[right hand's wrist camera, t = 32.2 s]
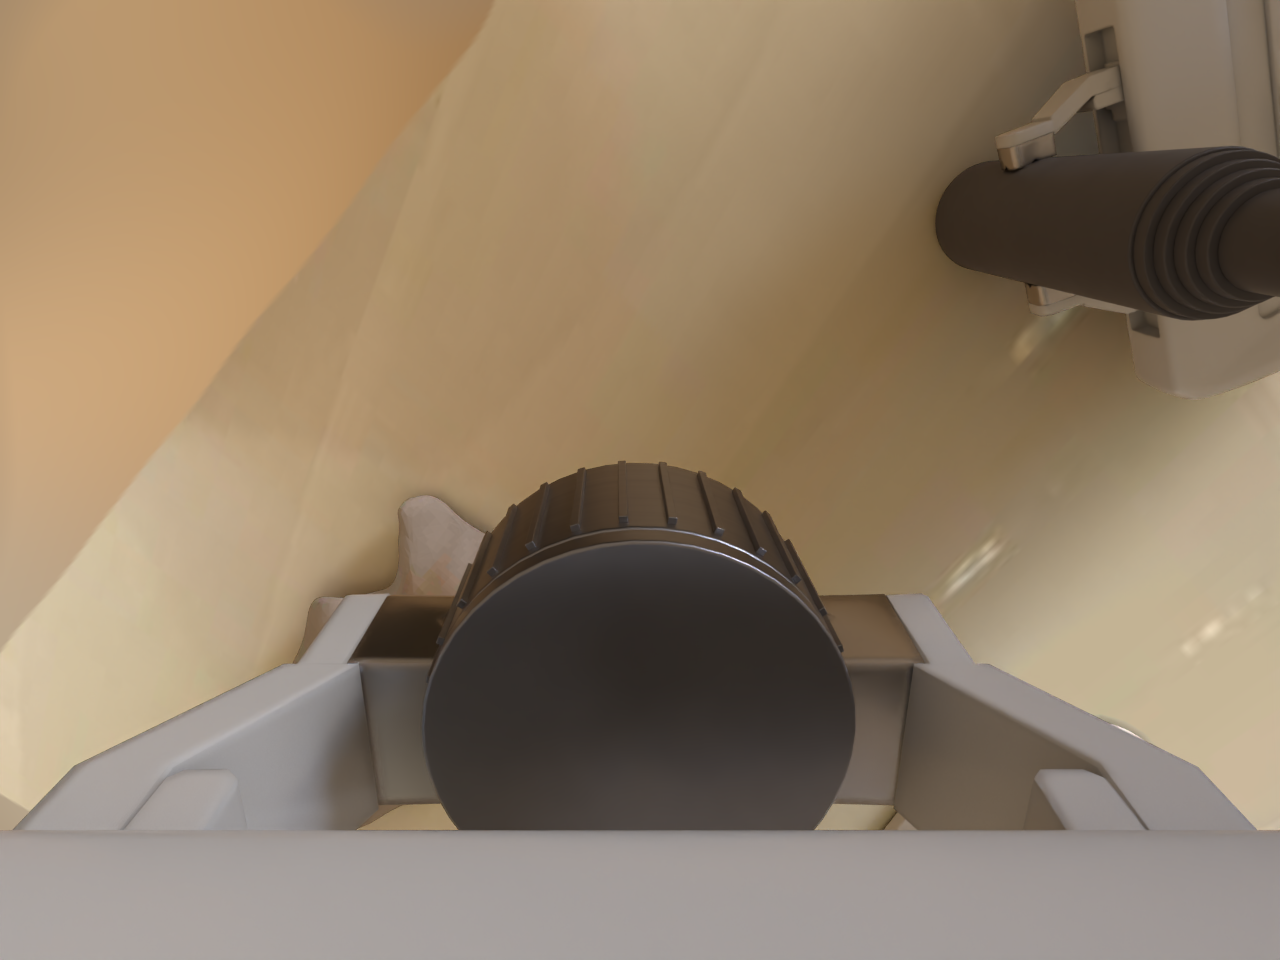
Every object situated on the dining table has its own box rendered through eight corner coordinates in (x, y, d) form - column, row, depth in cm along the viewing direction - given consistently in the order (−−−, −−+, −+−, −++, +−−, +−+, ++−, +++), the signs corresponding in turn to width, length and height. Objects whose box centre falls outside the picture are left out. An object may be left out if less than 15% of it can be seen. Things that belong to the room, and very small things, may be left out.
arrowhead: (605, 658, 45) (303, 970, 52) (609, 615, 50) (332, 906, 57) (395, 499, 42) (106, 852, 49) (421, 470, 47) (154, 796, 54)
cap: (696, 386, 9) (721, 444, 7) (868, 668, 10) (936, 795, 8) (387, 575, 9) (320, 684, 7) (584, 819, 11) (577, 974, 9)
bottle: (1059, 216, 42) (1503, 248, 21) (976, 291, 43) (1316, 393, 22) (997, 137, 40) (1405, 85, 19) (913, 216, 41) (1212, 249, 20)
